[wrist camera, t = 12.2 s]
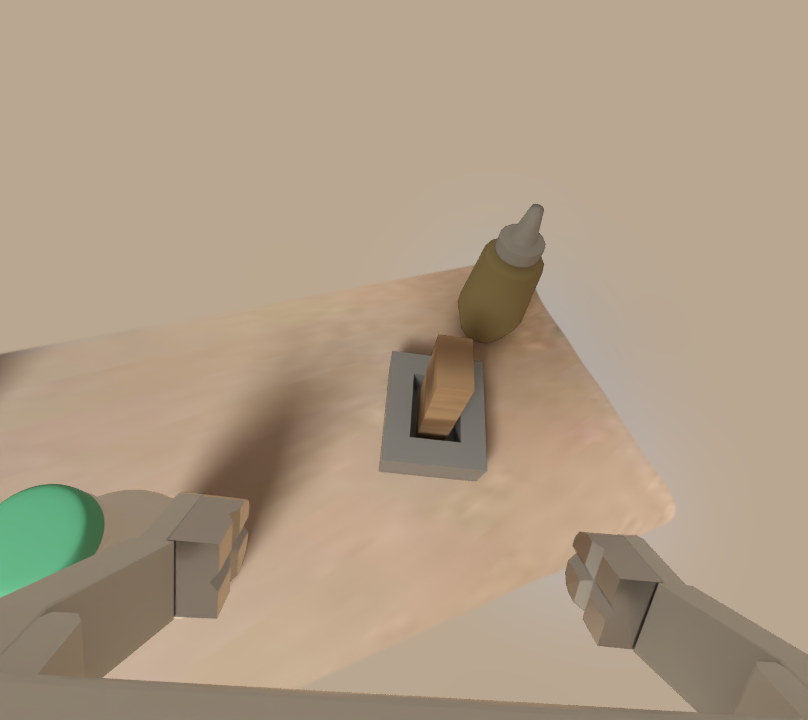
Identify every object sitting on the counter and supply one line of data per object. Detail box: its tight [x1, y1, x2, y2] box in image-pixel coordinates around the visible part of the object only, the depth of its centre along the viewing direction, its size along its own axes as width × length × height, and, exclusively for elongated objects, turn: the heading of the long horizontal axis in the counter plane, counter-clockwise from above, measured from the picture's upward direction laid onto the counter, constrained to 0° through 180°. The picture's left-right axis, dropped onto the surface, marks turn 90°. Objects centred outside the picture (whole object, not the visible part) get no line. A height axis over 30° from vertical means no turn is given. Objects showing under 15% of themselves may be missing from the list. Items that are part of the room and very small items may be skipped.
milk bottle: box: [0, 484, 184, 620], centre depth 25 cm, size 8×8×20 cm
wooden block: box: [416, 335, 474, 441], centre depth 37 cm, size 5×3×12 cm, turn 176°
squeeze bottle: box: [458, 204, 545, 342], centre depth 43 cm, size 8×8×18 cm
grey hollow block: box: [379, 351, 487, 481], centre depth 42 cm, size 12×10×4 cm
